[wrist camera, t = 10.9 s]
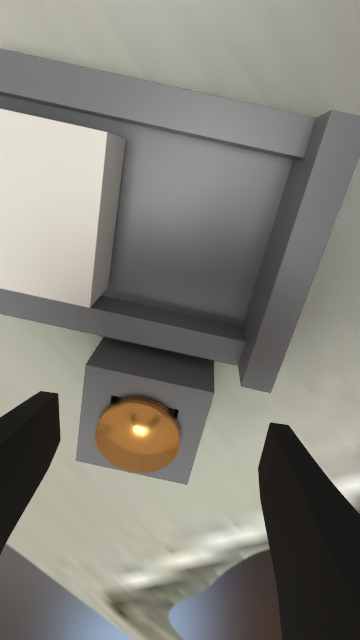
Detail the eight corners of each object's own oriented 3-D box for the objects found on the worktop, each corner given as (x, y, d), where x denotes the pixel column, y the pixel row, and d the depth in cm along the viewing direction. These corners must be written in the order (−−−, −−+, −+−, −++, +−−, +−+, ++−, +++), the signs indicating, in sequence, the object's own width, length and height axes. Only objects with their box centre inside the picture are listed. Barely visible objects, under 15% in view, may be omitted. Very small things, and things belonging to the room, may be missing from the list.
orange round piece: (191, 370, 21) (186, 417, 17) (177, 426, 23) (170, 480, 19) (120, 355, 21) (99, 398, 17) (112, 412, 23) (91, 463, 19)
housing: (329, 133, 17) (373, 119, 12) (228, 434, 25) (232, 494, 20) (7, 62, 17) (-70, 21, 12) (9, 386, 25) (-38, 436, 20)
